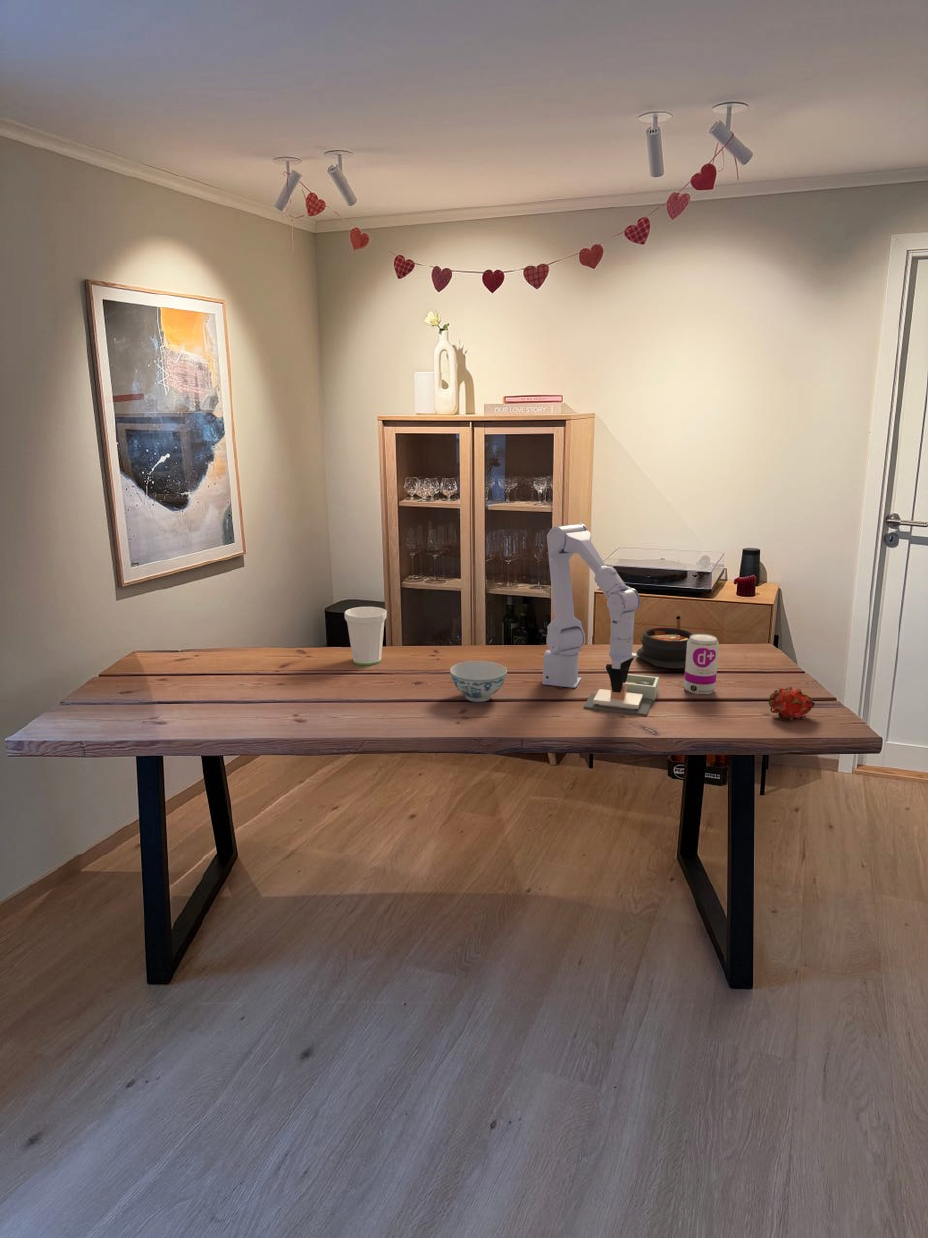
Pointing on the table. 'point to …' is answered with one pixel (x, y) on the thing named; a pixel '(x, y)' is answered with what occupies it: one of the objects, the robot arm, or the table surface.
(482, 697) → the chinaware
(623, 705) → the lid
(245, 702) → the table surface
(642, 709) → the mat
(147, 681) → the table surface
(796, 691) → the dragon fruit
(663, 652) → the casserole
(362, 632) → the cup
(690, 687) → the supplement can
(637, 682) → the storage box
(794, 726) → the table surface
